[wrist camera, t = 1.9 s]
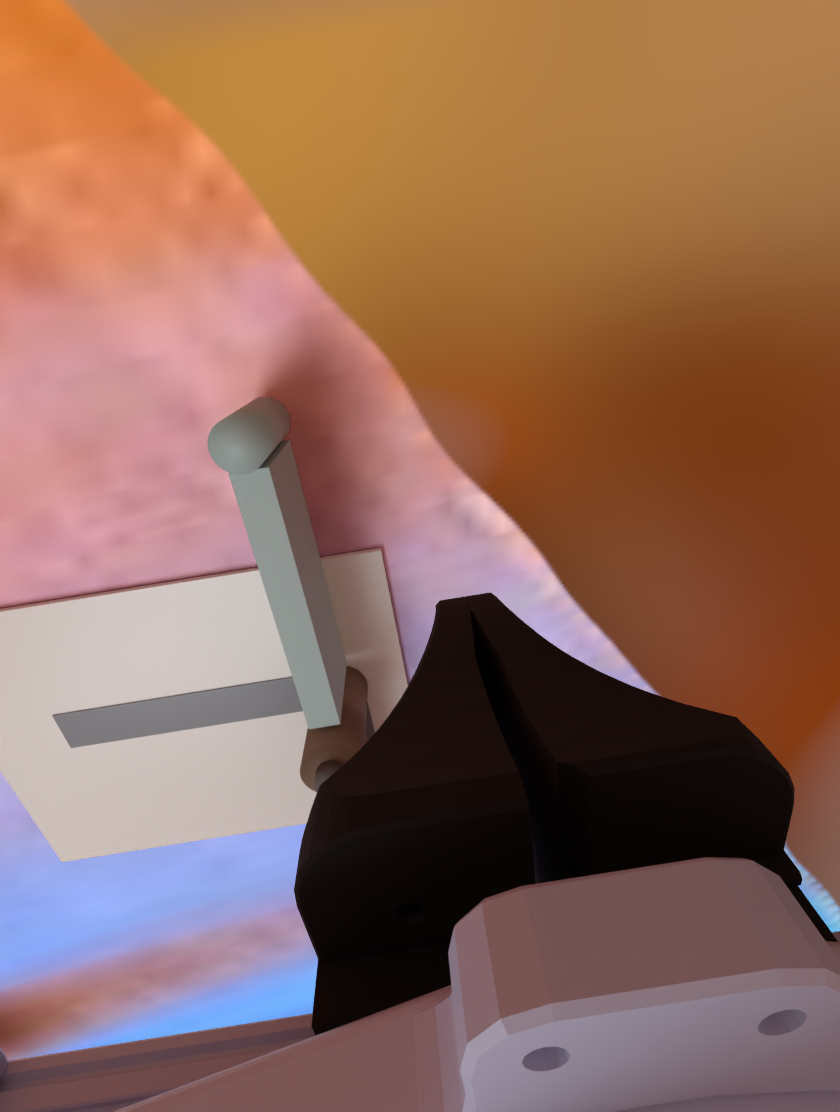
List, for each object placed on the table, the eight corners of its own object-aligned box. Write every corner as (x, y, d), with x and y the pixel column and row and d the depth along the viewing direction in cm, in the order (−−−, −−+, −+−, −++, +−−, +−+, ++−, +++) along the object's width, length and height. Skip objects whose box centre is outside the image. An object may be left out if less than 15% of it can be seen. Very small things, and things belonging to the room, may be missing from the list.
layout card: (430, 798, 28) (431, 804, 28) (64, 856, 28) (61, 863, 28) (380, 547, 22) (380, 551, 21) (-91, 623, 22) (-98, 628, 21)
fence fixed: (394, 797, 27) (397, 906, 22) (349, 804, 27) (341, 915, 22) (362, 661, 24) (356, 756, 19) (310, 670, 24) (290, 766, 19)
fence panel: (351, 662, 23) (344, 731, 19) (315, 668, 23) (302, 737, 19) (284, 393, 18) (257, 413, 14) (238, 400, 18) (199, 423, 14)
